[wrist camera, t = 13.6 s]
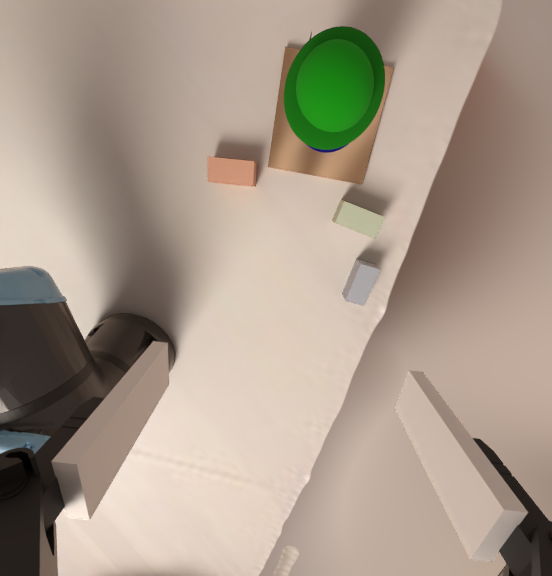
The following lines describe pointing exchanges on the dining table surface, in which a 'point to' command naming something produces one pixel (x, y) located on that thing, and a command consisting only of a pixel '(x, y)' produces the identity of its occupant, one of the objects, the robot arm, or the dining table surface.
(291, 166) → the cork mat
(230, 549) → the dining table surface
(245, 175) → the terracotta brick
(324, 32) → the toy
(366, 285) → the slate brick
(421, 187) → the dining table surface
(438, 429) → the robot arm
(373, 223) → the sage brick
